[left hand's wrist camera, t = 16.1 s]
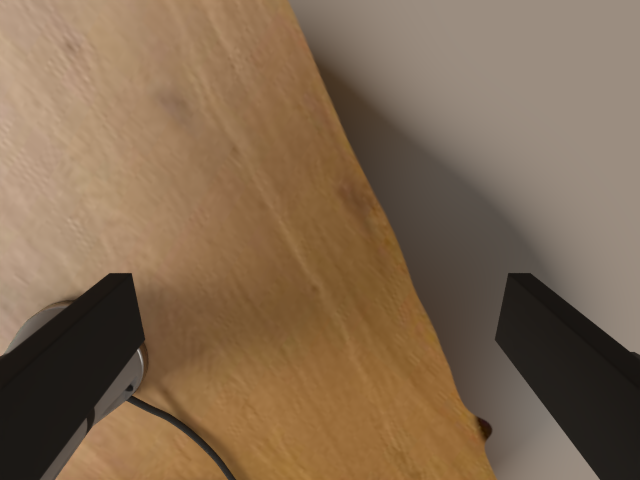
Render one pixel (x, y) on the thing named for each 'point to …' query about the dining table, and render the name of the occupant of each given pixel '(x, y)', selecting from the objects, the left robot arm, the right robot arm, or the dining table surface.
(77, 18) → the dining table surface
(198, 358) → the dining table surface
